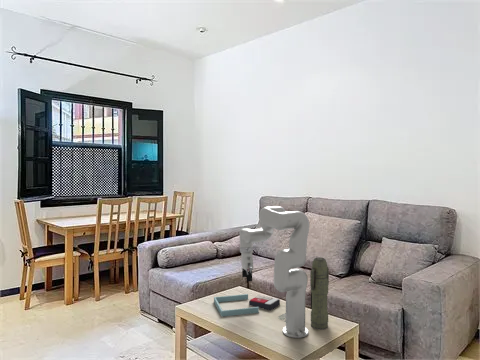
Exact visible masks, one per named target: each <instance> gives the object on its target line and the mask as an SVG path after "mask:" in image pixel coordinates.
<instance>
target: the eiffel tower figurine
mask: <svg viewBox="0 0 480 360" xmlns="http://www.w3.org/2000/svg"><path fill="white" fill-rule="evenodd" d="M277 318H278V319H279V320H282V321H283V322H284V323H286V312H285V313H282V314H280V315H279V316H277Z"/></svg>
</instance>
